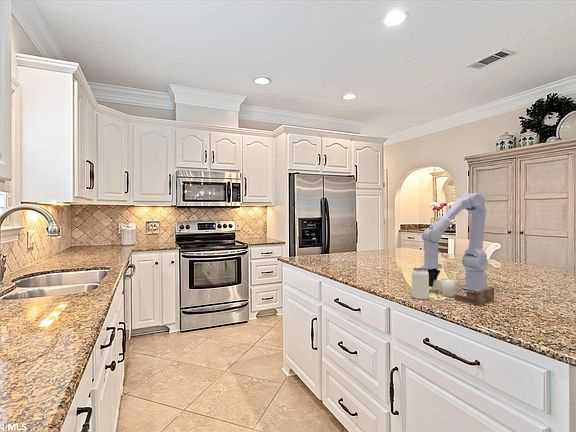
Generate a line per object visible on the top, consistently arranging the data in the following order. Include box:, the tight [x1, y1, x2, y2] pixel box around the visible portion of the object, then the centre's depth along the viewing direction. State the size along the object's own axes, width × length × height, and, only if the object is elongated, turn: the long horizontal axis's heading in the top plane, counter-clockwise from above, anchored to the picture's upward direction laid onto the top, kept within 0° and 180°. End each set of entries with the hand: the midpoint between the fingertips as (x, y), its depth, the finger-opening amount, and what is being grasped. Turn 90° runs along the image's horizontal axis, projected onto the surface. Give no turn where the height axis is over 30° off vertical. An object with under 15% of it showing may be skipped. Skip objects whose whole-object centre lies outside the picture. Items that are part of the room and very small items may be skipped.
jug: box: [431, 278, 460, 298], centre depth 142 cm, size 11×6×6 cm, turn 36°
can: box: [411, 267, 430, 301], centre depth 136 cm, size 6×6×12 cm
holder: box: [454, 286, 495, 307], centre depth 133 cm, size 14×10×5 cm
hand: (431, 286), depth 147 cm, fingers closed on jug
